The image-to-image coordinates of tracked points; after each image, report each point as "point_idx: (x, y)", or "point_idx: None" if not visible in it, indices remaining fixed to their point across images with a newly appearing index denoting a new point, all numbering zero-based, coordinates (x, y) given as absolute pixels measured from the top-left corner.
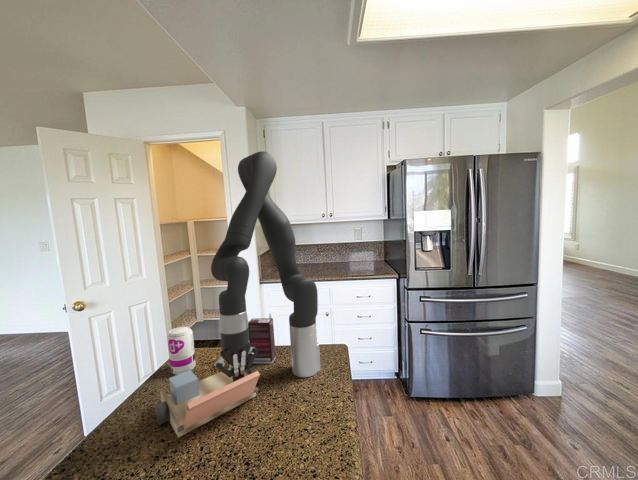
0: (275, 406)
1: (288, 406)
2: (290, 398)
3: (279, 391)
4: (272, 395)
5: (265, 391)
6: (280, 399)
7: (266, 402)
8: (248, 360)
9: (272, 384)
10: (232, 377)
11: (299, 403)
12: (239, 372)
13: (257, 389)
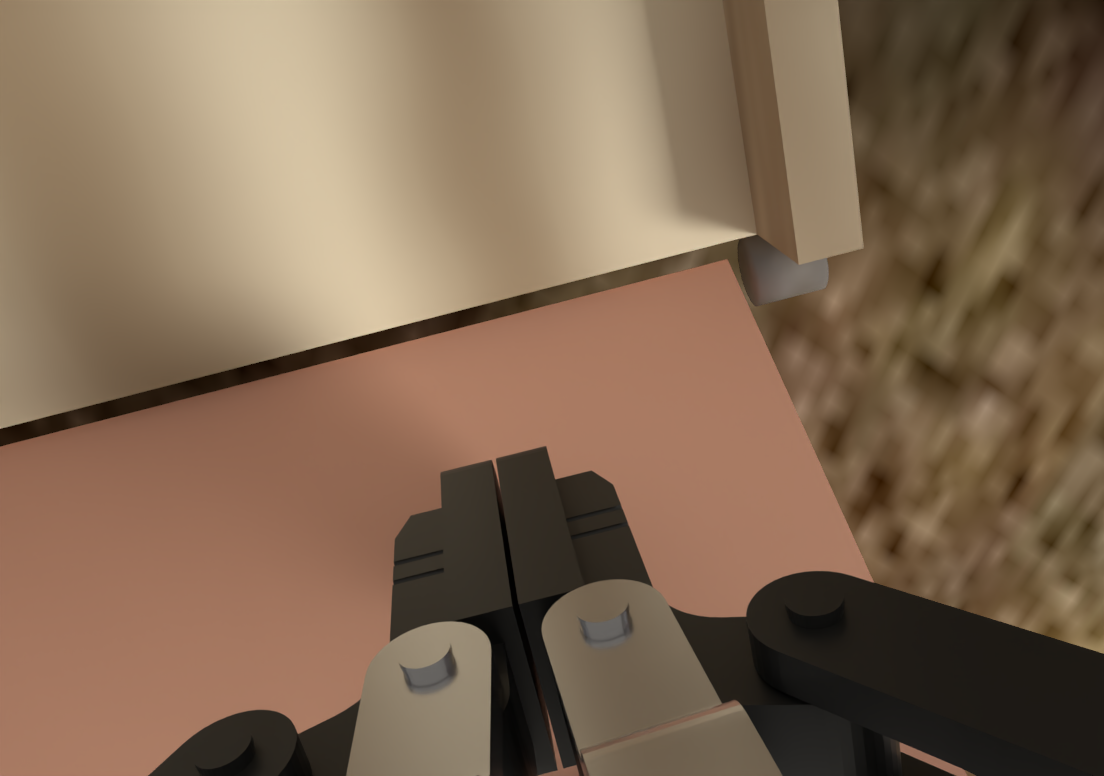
0: (869, 524)
1: (983, 592)
2: (1081, 481)
3: (1062, 272)
4: (945, 305)
5: (912, 155)
6: (981, 437)
7: (815, 401)
8: (997, 677)
9: (1083, 34)
10: (391, 634)
11: (1101, 605)
12: (577, 762)
13: (810, 289)
